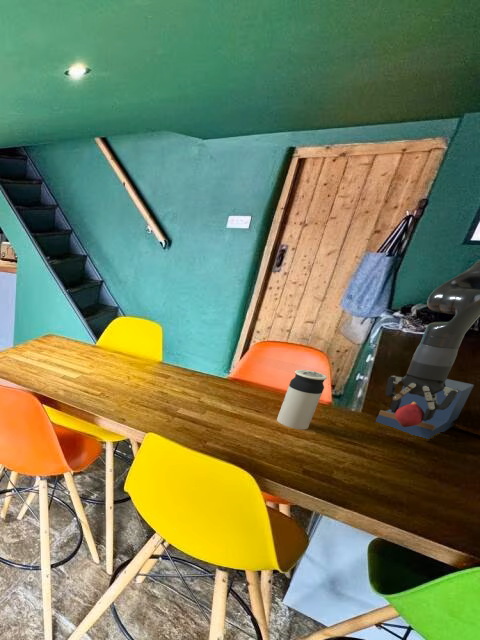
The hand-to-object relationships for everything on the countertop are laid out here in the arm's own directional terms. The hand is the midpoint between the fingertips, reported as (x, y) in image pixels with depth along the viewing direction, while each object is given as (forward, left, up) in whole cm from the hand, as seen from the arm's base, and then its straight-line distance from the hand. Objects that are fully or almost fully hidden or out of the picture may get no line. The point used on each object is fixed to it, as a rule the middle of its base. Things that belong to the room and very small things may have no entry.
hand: (409, 415), depth 116 cm
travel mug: (+19, -19, -8) cm, 28 cm away
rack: (-16, -1, -8) cm, 18 cm away
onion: (0, 0, -4) cm, 4 cm away
